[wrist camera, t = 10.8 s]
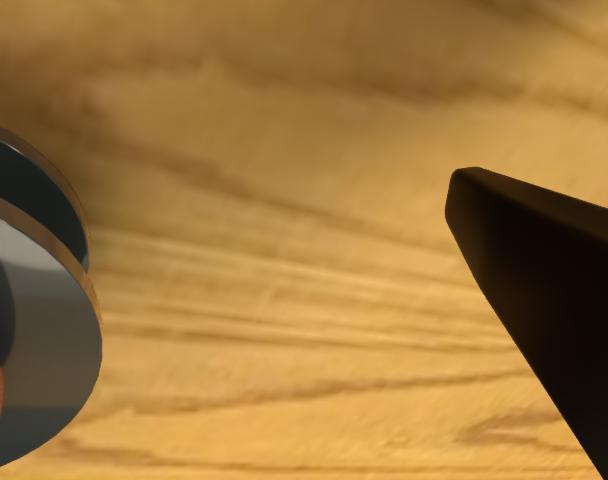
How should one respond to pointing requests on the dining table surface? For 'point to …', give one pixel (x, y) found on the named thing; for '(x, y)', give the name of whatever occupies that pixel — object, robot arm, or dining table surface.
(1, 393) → the fruit slice
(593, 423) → the robot arm
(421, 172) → the dining table surface
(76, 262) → the cake stand
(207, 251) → the dining table surface
